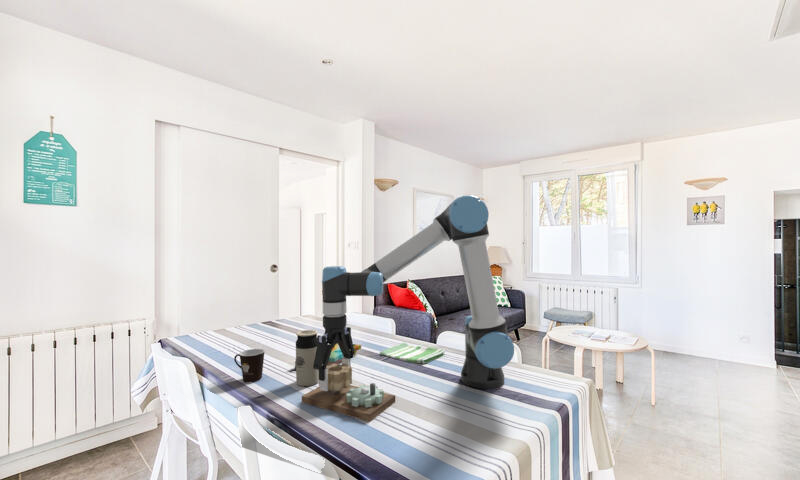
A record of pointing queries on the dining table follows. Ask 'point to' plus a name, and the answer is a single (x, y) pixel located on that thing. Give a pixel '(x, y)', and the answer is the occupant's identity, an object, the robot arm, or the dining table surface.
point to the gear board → (339, 403)
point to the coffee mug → (251, 364)
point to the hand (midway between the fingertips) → (335, 383)
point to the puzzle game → (339, 354)
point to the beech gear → (339, 376)
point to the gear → (365, 395)
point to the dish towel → (413, 353)
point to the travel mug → (306, 358)
